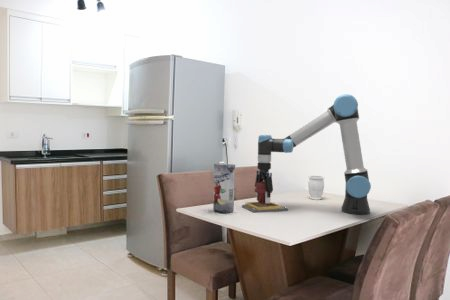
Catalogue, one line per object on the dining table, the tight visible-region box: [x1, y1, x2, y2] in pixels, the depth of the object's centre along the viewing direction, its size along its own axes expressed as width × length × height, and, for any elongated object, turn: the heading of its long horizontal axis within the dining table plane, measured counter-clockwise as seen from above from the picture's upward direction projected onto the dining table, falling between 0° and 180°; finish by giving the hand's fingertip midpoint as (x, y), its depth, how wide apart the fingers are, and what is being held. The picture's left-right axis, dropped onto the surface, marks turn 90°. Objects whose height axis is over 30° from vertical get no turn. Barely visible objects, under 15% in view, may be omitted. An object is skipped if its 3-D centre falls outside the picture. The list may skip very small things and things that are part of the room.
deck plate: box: [241, 201, 289, 213], centre depth 211 cm, size 16×21×3 cm
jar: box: [307, 175, 325, 201], centre depth 250 cm, size 11×10×15 cm
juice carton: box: [212, 161, 236, 214], centre depth 200 cm, size 9×10×27 cm
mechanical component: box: [254, 180, 273, 204], centre depth 210 cm, size 12×10×10 cm
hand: (263, 201), depth 210 cm, fingers closed on mechanical component, 10 cm apart
